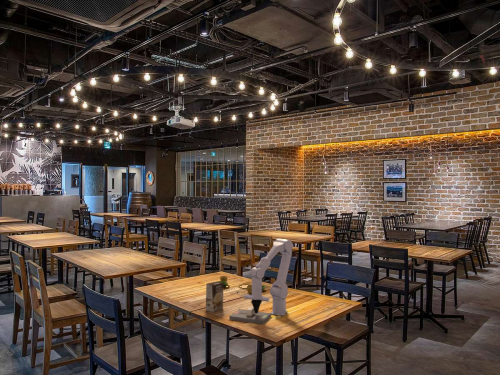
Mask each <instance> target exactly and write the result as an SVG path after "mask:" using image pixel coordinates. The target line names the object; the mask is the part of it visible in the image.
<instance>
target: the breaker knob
mask: <svg viewBox="0 0 500 375" xmlns="http://www.w3.org/2000/svg"><path fill="white" fill-rule="evenodd" d="M245 310H246V315H248V316H252V315H253V314H254V313H255V312H254V308H253V306H249V307H248V308H246V309H245Z"/></svg>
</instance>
